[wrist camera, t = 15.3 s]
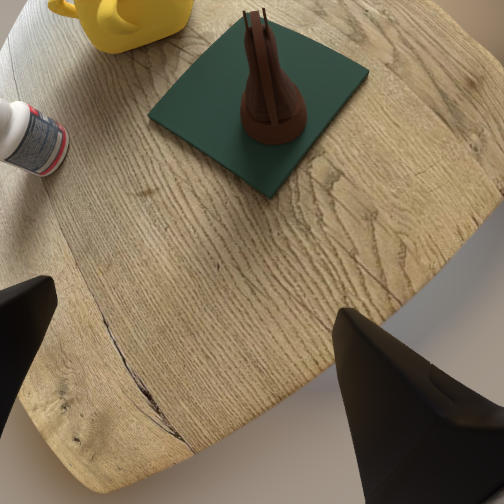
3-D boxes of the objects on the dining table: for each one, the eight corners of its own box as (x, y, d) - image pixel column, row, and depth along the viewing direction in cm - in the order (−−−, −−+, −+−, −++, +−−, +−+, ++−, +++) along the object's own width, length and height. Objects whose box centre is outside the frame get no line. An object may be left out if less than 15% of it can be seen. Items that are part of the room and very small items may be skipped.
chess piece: (301, 87, 21) (297, -14, 11) (313, 148, 21) (320, 58, 11) (239, 95, 22) (203, 0, 12) (245, 157, 21) (205, 73, 11)
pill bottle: (78, 126, 24) (14, 84, 16) (58, 180, 24) (-14, 151, 16) (44, 125, 25) (-16, 90, 17) (26, 174, 25) (-40, 149, 16)
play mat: (368, 74, 21) (369, 70, 20) (270, 199, 21) (269, 197, 21) (248, 16, 23) (247, 12, 22) (149, 118, 23) (146, 115, 23)
